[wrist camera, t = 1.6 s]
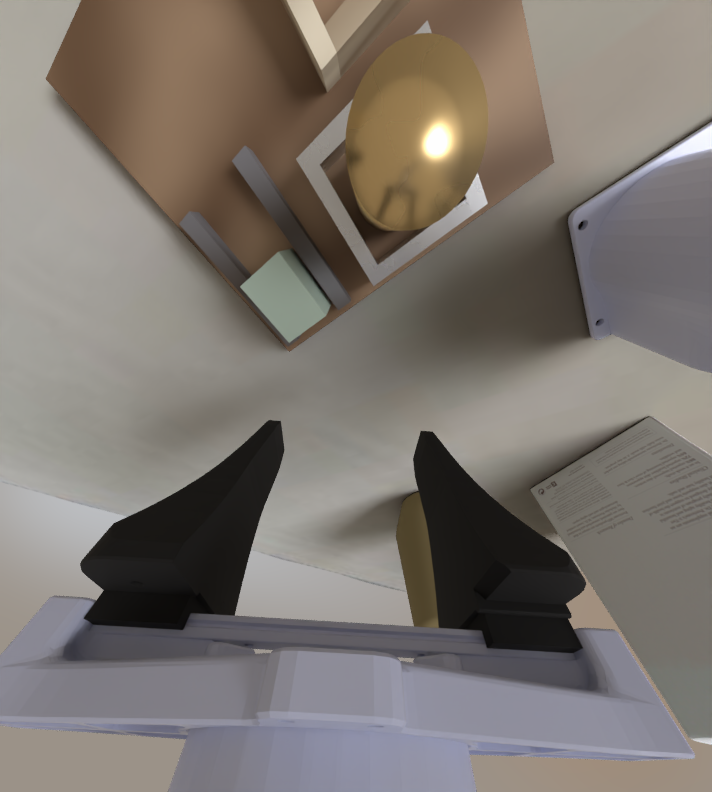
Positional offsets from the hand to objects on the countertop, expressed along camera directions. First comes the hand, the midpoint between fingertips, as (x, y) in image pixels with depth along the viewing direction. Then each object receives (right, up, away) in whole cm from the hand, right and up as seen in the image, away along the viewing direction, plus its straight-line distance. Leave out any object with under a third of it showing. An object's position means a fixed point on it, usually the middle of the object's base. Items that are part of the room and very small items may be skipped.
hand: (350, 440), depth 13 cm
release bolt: (-4, +9, +4) cm, 11 cm away
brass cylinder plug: (+2, +14, +1) cm, 14 cm away
